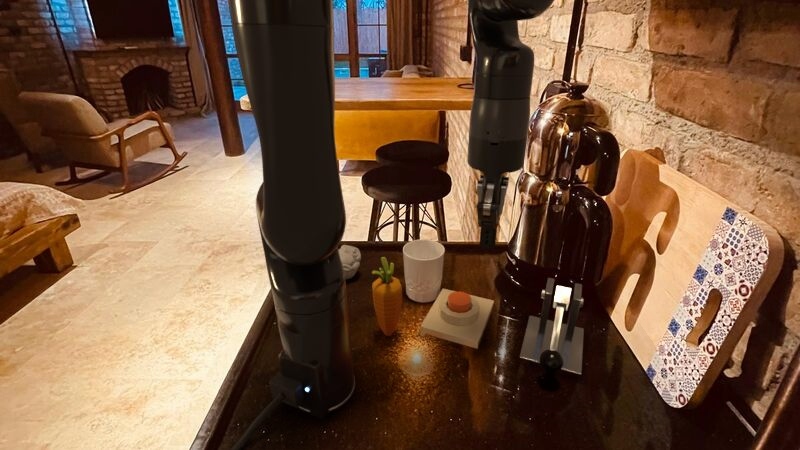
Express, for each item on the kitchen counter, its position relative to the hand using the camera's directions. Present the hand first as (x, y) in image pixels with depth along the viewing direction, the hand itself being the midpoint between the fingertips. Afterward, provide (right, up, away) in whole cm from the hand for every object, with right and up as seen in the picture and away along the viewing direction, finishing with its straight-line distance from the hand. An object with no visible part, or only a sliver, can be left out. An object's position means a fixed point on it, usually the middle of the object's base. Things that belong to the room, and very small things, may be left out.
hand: (487, 246), depth 61 cm
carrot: (-15, -16, +9) cm, 24 cm away
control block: (-3, -14, +12) cm, 19 cm away
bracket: (+12, -17, +6) cm, 22 cm away
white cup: (-9, -11, +20) cm, 24 cm away
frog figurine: (-24, -8, +26) cm, 36 cm away
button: (-3, -11, +10) cm, 15 cm away
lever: (+10, -13, 0) cm, 17 cm away
